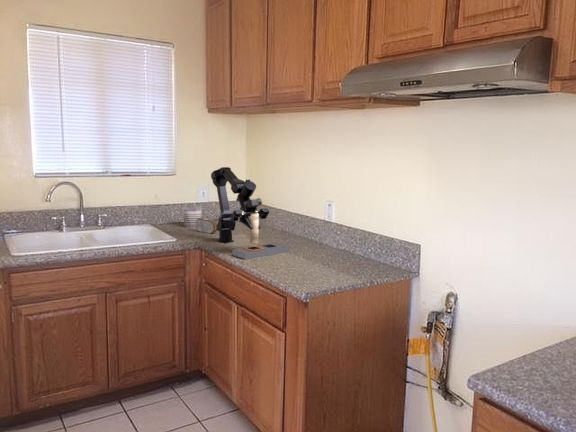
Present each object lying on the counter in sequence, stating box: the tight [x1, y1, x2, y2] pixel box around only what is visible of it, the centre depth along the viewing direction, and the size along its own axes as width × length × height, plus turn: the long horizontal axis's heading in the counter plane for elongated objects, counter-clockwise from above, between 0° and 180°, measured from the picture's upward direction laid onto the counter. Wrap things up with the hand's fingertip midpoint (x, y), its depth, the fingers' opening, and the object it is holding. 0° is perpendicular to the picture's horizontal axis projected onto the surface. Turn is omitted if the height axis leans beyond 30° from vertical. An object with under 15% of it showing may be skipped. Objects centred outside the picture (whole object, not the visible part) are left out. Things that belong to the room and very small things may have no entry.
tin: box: [195, 217, 218, 235], centre depth 286 cm, size 15×3×8 cm, turn 58°
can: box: [182, 205, 203, 229], centre depth 305 cm, size 11×11×12 cm
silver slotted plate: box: [231, 241, 291, 260], centre depth 238 cm, size 28×10×3 cm, turn 132°
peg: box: [249, 213, 260, 245], centre depth 234 cm, size 4×4×14 cm
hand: (255, 228), depth 232 cm, fingers closed on peg, 4 cm apart
